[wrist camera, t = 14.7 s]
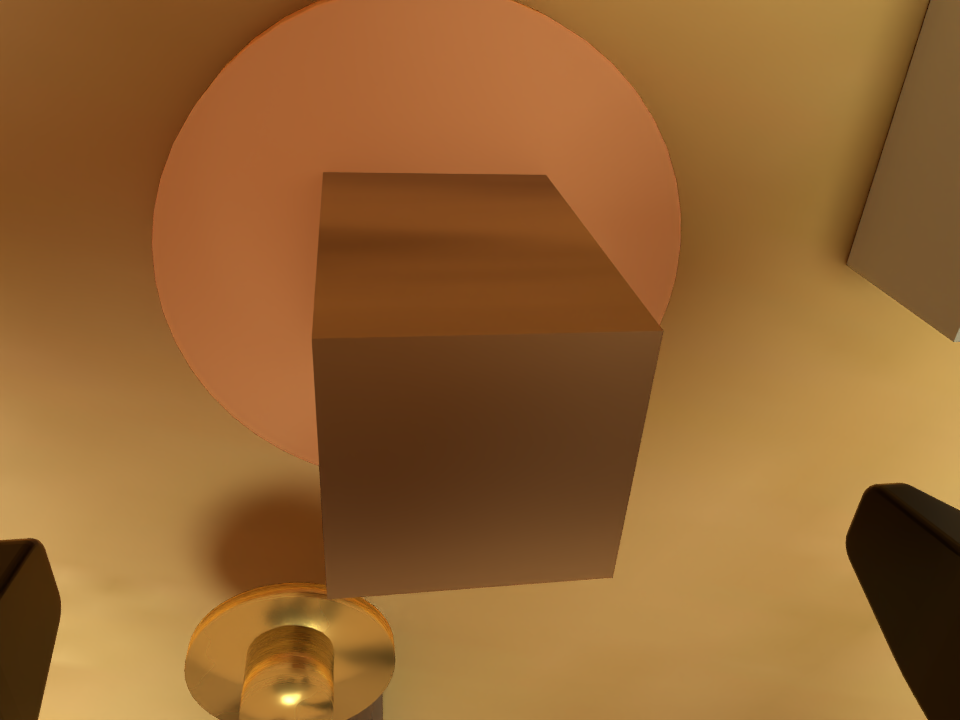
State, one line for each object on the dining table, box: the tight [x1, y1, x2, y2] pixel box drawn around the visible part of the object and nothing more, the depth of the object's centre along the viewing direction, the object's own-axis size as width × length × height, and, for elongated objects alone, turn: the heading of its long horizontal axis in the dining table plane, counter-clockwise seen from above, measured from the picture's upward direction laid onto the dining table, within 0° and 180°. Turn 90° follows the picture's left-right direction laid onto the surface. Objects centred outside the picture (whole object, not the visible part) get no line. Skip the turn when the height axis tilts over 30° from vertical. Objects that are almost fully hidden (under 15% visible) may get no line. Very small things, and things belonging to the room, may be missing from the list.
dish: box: [152, 0, 681, 465], centre depth 15 cm, size 10×10×1 cm
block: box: [312, 172, 663, 599], centre depth 12 cm, size 4×4×6 cm
